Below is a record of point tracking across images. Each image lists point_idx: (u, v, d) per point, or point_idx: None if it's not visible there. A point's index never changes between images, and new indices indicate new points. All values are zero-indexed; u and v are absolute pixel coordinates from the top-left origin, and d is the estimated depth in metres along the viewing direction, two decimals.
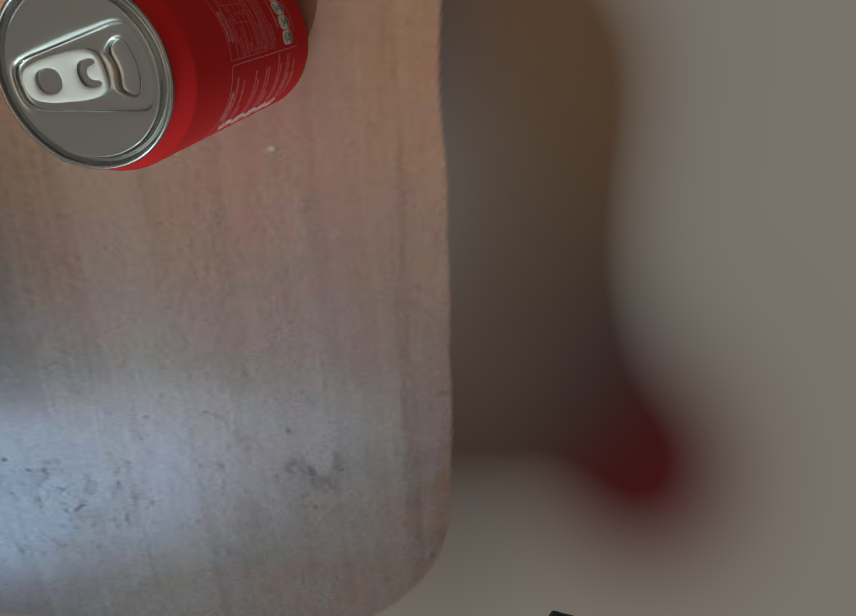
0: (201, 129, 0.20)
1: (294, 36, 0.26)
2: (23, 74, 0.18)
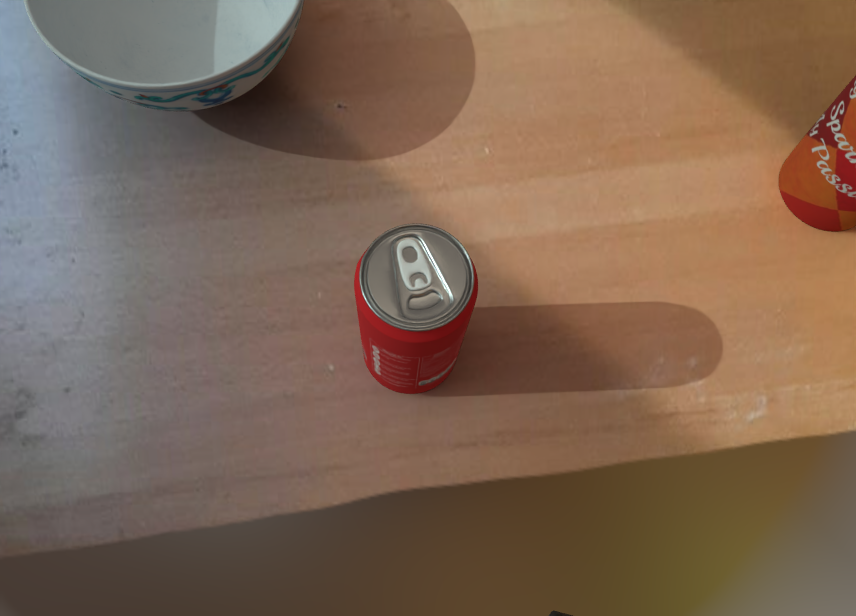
0: (382, 340, 0.31)
1: (422, 386, 0.38)
2: (412, 240, 0.30)
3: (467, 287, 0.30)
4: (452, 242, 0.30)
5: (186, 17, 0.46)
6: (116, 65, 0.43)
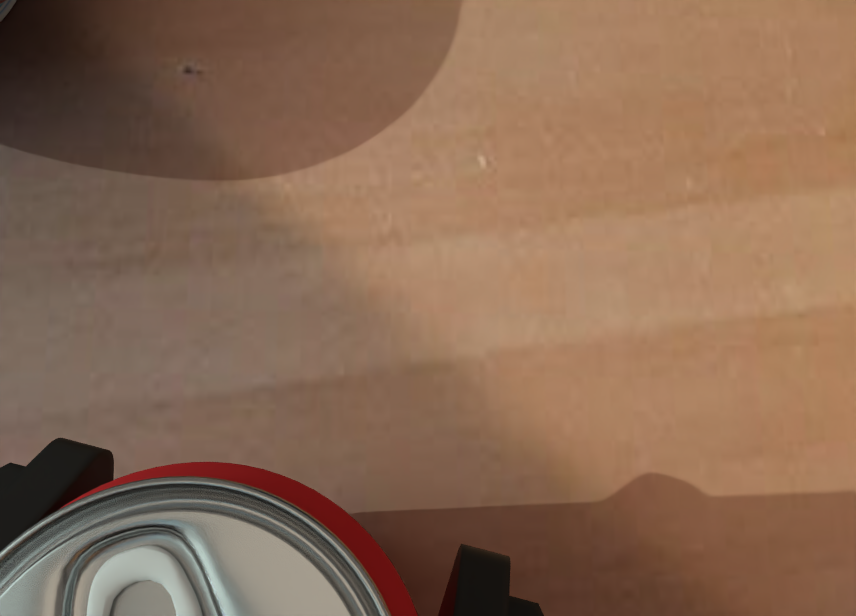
0: None
1: None
2: (157, 555, 0.07)
3: None
4: (330, 555, 0.07)
5: None
6: None
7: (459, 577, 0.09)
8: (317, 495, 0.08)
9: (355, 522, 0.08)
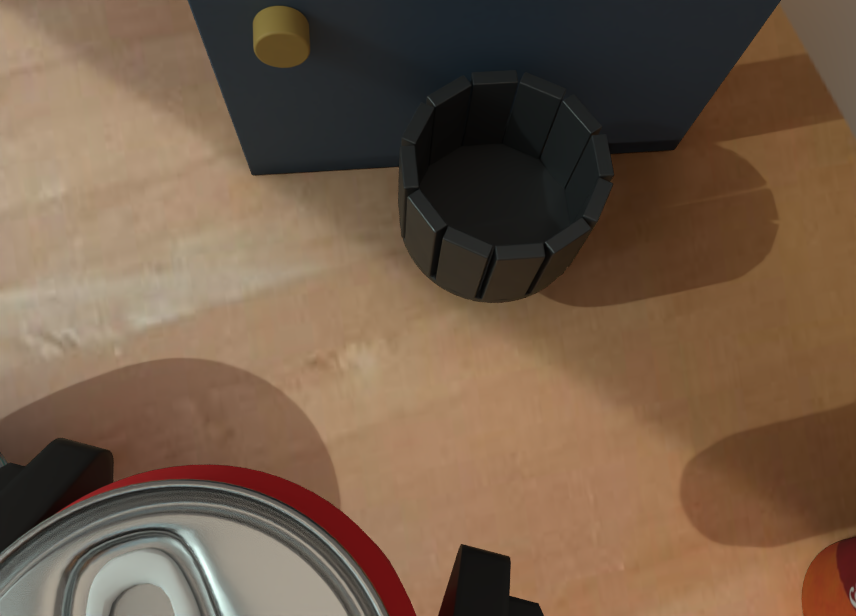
0: None
1: None
2: (156, 558, 0.07)
3: None
4: (330, 557, 0.07)
5: None
6: None
7: (459, 577, 0.09)
8: (316, 497, 0.08)
9: (354, 525, 0.08)
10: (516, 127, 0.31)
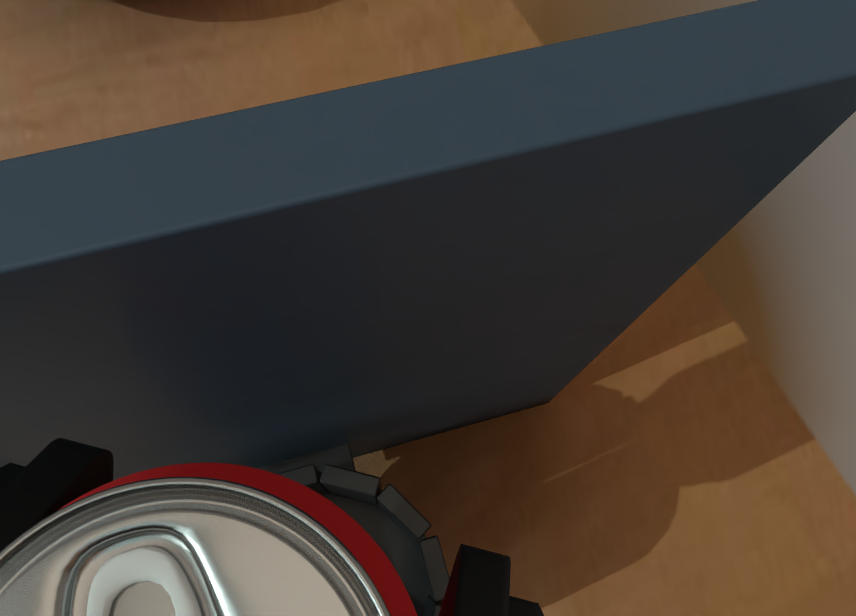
0: None
1: None
2: (158, 556, 0.07)
3: None
4: (330, 555, 0.07)
5: None
6: None
7: (459, 577, 0.09)
8: (317, 495, 0.08)
9: (355, 522, 0.08)
10: (338, 492, 0.25)
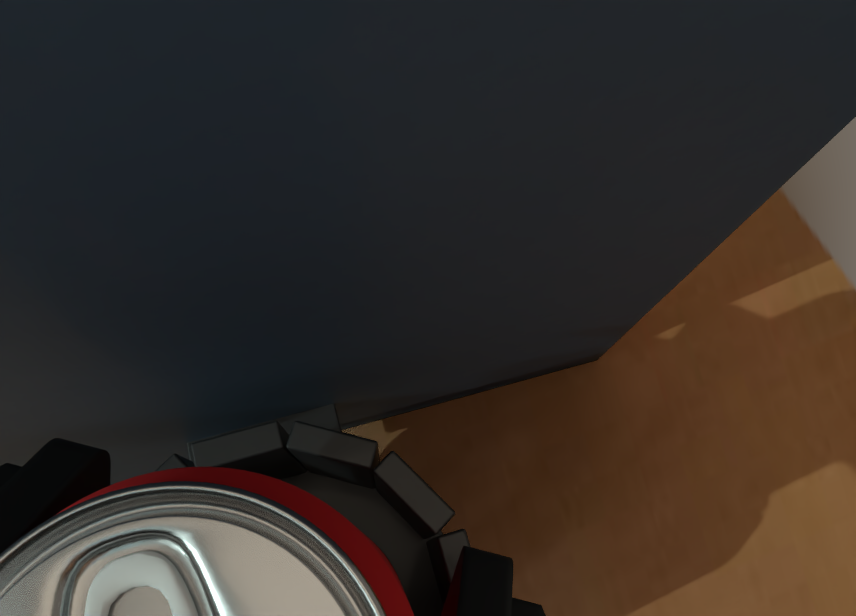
0: None
1: None
2: (155, 561, 0.07)
3: None
4: (328, 560, 0.07)
5: None
6: None
7: (462, 579, 0.09)
8: (315, 500, 0.08)
9: (353, 527, 0.08)
10: (317, 469, 0.18)
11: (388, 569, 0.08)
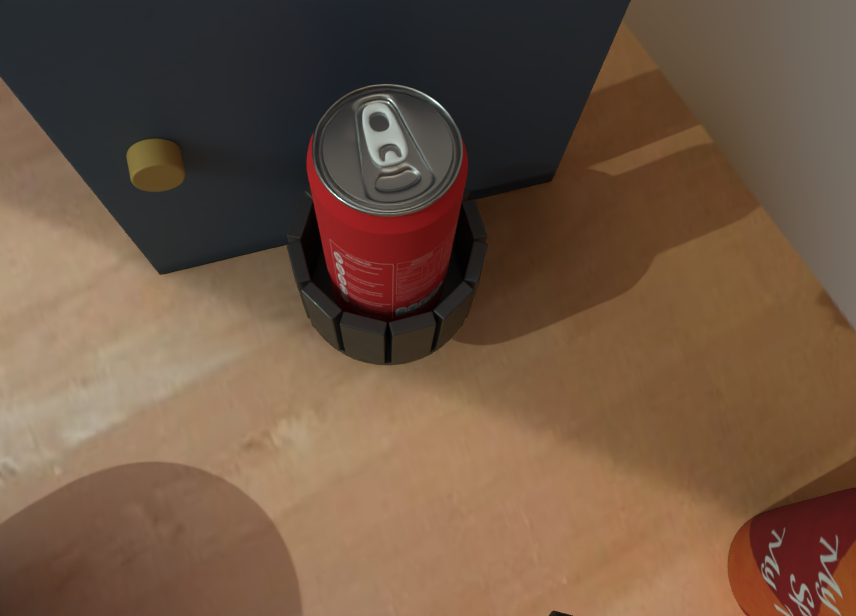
0: (344, 237, 0.24)
1: (400, 317, 0.31)
2: (382, 104, 0.23)
3: (453, 164, 0.23)
4: (434, 108, 0.23)
5: None
6: None
7: None
8: None
9: None
10: None
11: None
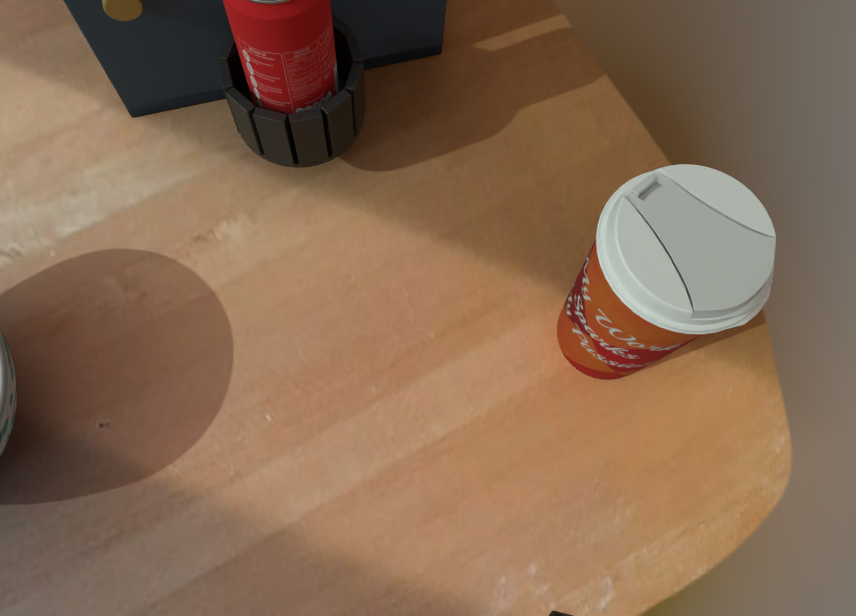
0: (244, 28, 0.35)
1: None
2: None
3: None
4: None
5: None
6: None
7: None
8: None
9: None
10: None
11: None
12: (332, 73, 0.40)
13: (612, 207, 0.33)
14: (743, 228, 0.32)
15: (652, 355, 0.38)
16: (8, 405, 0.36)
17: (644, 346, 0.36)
